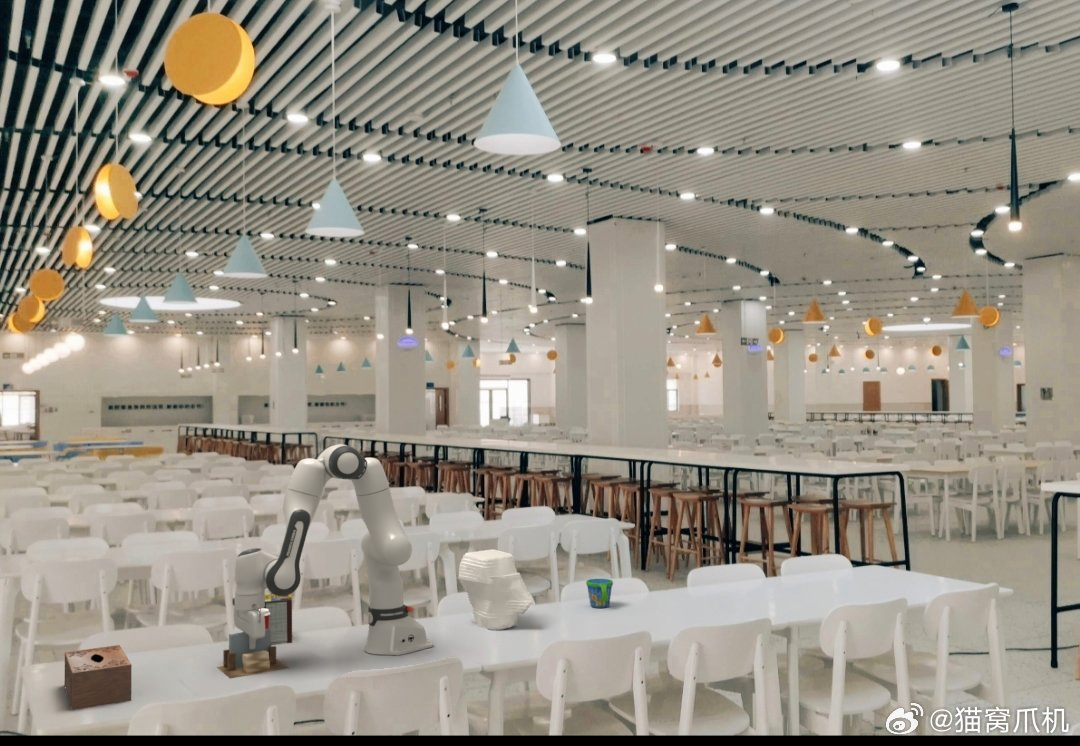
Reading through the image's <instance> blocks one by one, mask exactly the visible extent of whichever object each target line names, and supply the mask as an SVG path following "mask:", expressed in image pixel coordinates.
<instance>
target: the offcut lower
mask: <svg viewBox="0 0 1080 746" xmlns="http://www.w3.org/2000/svg"><path fill="white" fill-rule="evenodd" d="M268 669H270V661H265V662H259V663H254V664H249V665H245V664H244V672H246V673H250V672H256V671H262V670H268Z"/></svg>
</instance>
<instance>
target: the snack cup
mask: <svg viewBox="0 0 1080 746" xmlns="http://www.w3.org/2000/svg"><path fill="white" fill-rule="evenodd" d="M613 581H614V580H612V579H608V578H589V579H587V580H586V581H585V582H586V583H585V584H586V586H587V592H588V599H589V604H590V607H592V608H594V609H595V608H597V609H605V608H608V607H610V604H611V603H610V602H611V594H612V589H613V588H612V587H613V585H614V582H613Z"/></svg>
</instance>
